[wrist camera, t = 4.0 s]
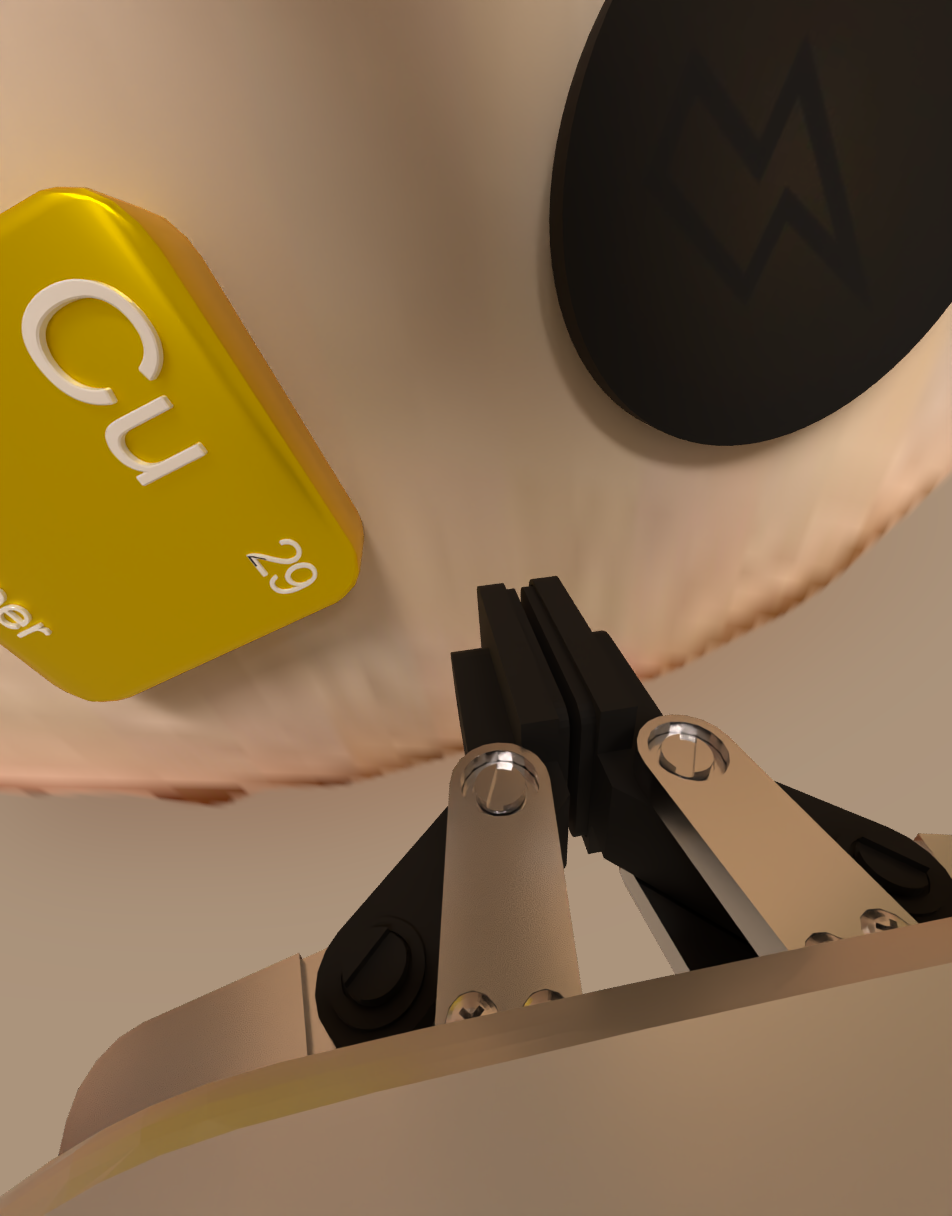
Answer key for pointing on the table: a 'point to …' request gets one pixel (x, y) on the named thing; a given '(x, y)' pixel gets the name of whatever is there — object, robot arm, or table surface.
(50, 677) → the element tile
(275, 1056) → the robot arm
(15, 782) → the table surface
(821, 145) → the wireless charger
